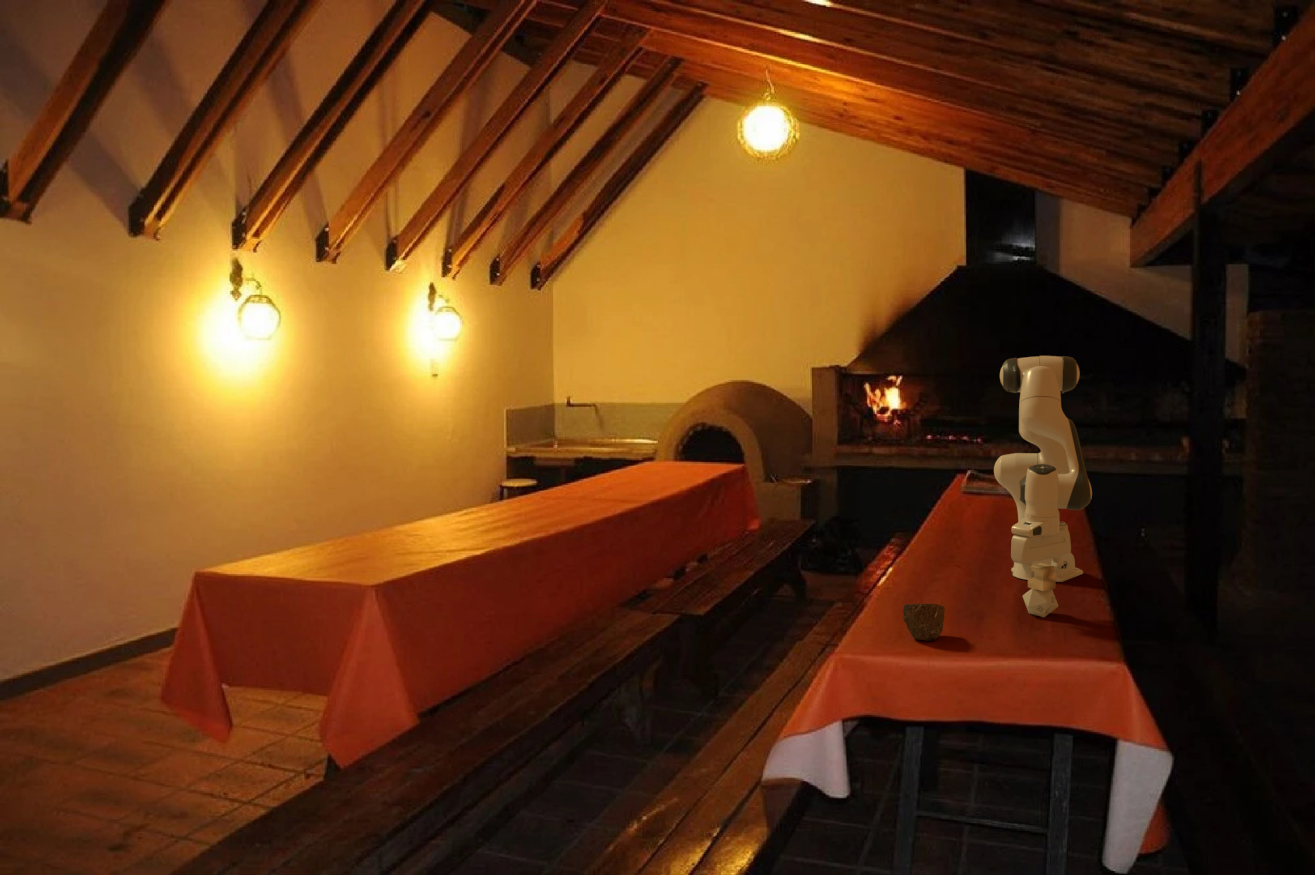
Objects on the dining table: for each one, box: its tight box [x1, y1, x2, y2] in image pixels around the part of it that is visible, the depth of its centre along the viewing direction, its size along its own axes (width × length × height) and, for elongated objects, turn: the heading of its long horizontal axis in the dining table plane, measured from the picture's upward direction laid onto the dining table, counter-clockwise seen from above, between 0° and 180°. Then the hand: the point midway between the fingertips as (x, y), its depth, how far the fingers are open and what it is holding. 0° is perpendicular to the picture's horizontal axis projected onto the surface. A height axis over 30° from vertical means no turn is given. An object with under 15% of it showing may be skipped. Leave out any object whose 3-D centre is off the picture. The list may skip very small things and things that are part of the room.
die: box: [1022, 588, 1059, 618], centre depth 273 cm, size 8×9×10 cm
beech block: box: [1027, 563, 1056, 591], centre depth 272 cm, size 5×5×6 cm
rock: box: [902, 603, 946, 642], centre depth 255 cm, size 12×10×10 cm
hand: (1041, 575), depth 272 cm, fingers open, 8 cm apart
